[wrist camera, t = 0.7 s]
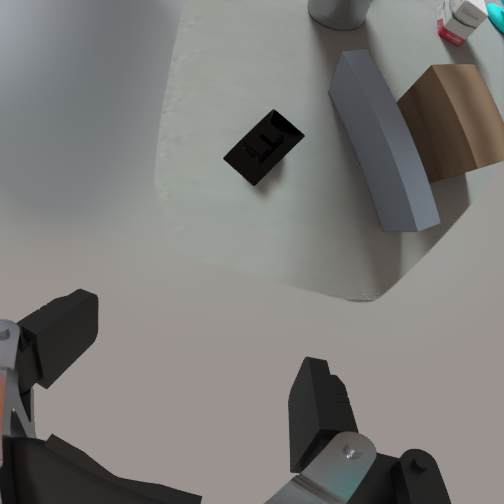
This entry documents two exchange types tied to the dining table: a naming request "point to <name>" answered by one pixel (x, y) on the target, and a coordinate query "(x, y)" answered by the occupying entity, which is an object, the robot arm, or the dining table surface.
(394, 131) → the slate board
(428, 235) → the dining table surface
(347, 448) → the robot arm
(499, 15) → the turquoise spool
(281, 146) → the black rectangular block
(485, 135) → the walnut block
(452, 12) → the ink box
